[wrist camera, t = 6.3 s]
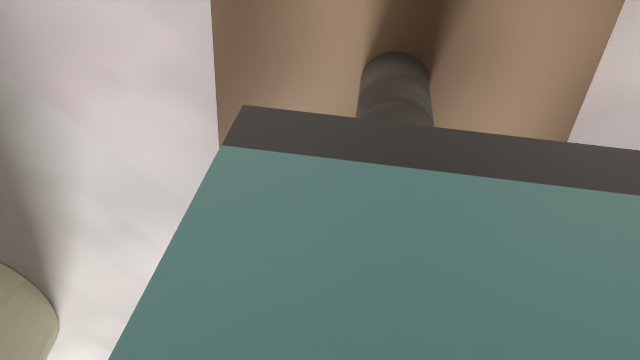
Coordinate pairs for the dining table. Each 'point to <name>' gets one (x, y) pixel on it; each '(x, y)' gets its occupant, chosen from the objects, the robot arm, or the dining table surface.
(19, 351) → the reusable coffee cup
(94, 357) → the dining table surface
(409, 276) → the teal sleeve
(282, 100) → the pin board
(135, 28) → the dining table surface
